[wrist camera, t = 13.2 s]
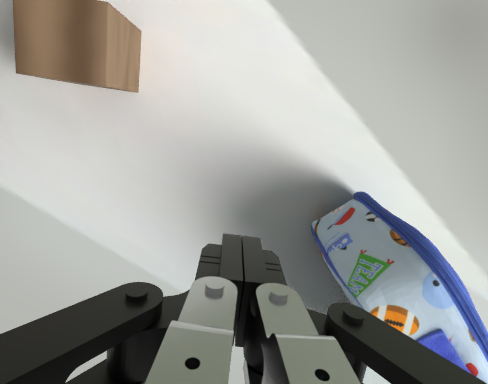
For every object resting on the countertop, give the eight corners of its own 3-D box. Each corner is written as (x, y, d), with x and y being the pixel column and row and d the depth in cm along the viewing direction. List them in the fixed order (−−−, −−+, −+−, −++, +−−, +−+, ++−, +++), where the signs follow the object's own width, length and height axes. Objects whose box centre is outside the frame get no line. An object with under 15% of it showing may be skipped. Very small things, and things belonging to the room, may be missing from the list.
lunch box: (442, 316, 48) (608, 480, 27) (384, 350, 49) (498, 532, 28) (355, 175, 42) (481, 242, 21) (291, 217, 43) (347, 321, 22)
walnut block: (72, 83, 38) (15, 73, 28) (72, 20, 36) (12, -14, 26) (138, 92, 38) (105, 86, 29) (141, 31, 36) (107, 2, 27)
